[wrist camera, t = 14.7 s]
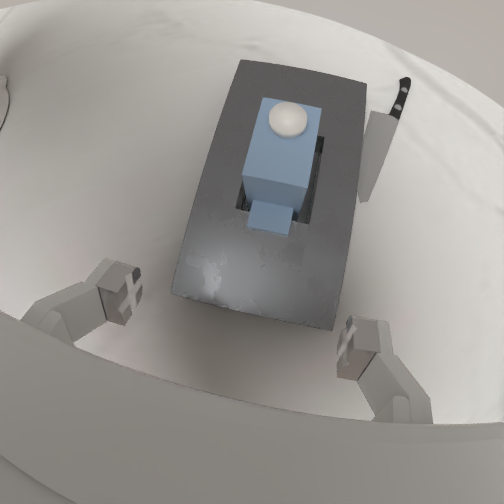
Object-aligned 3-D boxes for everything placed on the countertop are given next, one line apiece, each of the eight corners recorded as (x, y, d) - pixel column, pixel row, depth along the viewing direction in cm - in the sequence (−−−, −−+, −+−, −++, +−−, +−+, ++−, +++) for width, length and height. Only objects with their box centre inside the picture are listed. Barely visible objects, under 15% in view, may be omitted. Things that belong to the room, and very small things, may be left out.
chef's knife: (325, 211, 27) (356, 227, 27) (327, 207, 26) (359, 223, 26) (386, 71, 30) (410, 82, 29) (389, 65, 28) (413, 77, 28)
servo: (243, 235, 27) (232, 201, 18) (268, 131, 28) (268, 69, 19) (291, 245, 26) (303, 215, 18) (311, 140, 28) (326, 80, 19)
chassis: (180, 295, 26) (169, 293, 23) (242, 78, 29) (240, 59, 26) (324, 328, 25) (332, 330, 22) (359, 101, 28) (366, 83, 25)
